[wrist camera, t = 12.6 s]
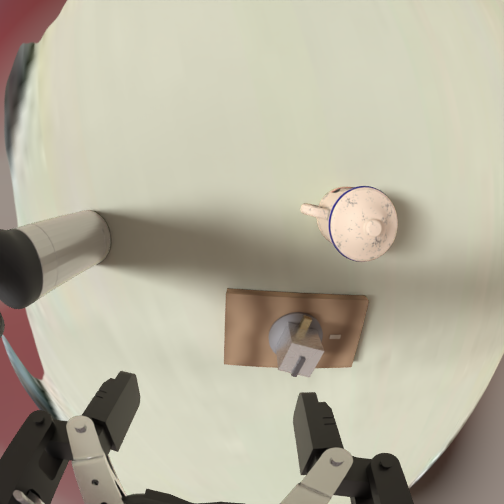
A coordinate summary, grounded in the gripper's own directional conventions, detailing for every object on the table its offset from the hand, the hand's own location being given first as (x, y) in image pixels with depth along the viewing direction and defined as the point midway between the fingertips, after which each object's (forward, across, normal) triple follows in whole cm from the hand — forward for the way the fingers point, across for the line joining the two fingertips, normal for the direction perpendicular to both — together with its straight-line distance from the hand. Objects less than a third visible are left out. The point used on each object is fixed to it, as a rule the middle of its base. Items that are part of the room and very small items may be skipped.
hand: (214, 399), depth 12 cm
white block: (+27, -9, +12) cm, 31 cm away
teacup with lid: (+30, -13, -7) cm, 33 cm away
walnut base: (+30, -10, +12) cm, 33 cm away
